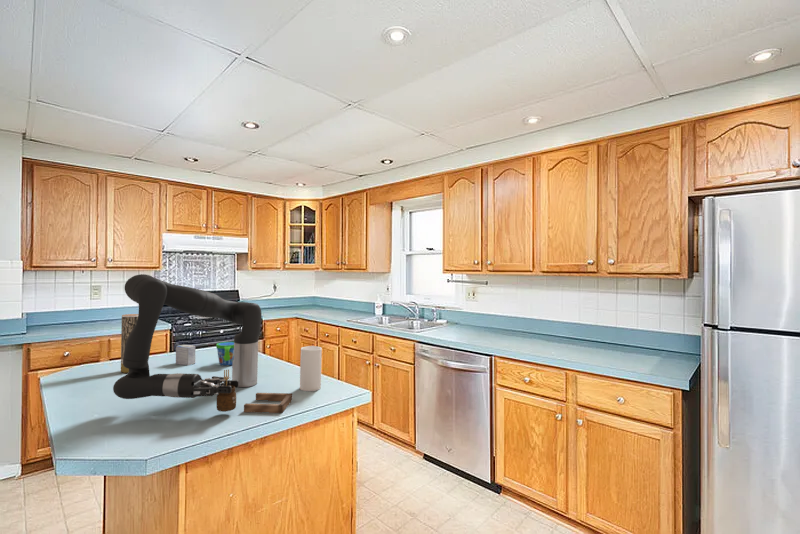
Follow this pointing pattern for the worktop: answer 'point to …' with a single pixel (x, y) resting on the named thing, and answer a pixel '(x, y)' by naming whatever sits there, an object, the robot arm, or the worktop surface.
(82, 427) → the worktop surface
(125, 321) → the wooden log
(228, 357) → the snack cup
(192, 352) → the medicine box
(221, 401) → the utensil holder
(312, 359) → the cup
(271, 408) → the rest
